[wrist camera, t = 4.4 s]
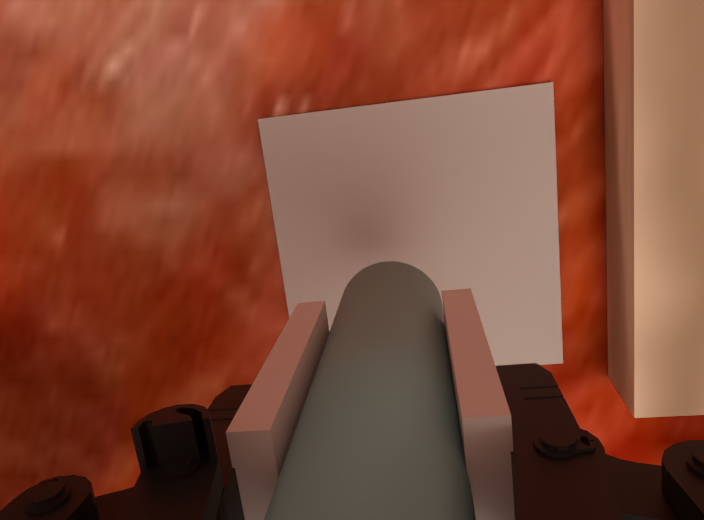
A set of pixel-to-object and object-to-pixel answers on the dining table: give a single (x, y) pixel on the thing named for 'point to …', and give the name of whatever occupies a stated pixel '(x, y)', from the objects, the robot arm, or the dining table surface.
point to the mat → (427, 205)
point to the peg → (379, 412)
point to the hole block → (655, 203)
